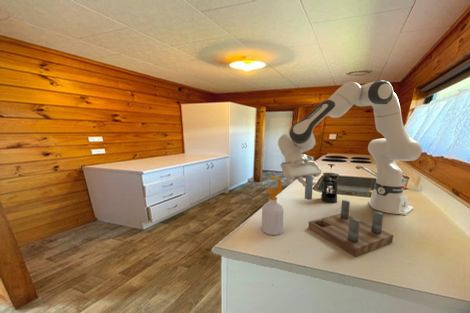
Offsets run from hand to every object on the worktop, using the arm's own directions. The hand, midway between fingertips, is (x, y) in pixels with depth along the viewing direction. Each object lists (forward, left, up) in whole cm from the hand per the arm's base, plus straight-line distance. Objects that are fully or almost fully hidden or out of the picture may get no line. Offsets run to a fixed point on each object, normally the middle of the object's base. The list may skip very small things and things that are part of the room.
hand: (309, 185), depth 91 cm
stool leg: (0, -1, -7) cm, 7 cm away
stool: (-7, +15, -18) cm, 25 cm away
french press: (-34, -17, -18) cm, 42 cm away
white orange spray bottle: (+20, -1, -18) cm, 27 cm away
